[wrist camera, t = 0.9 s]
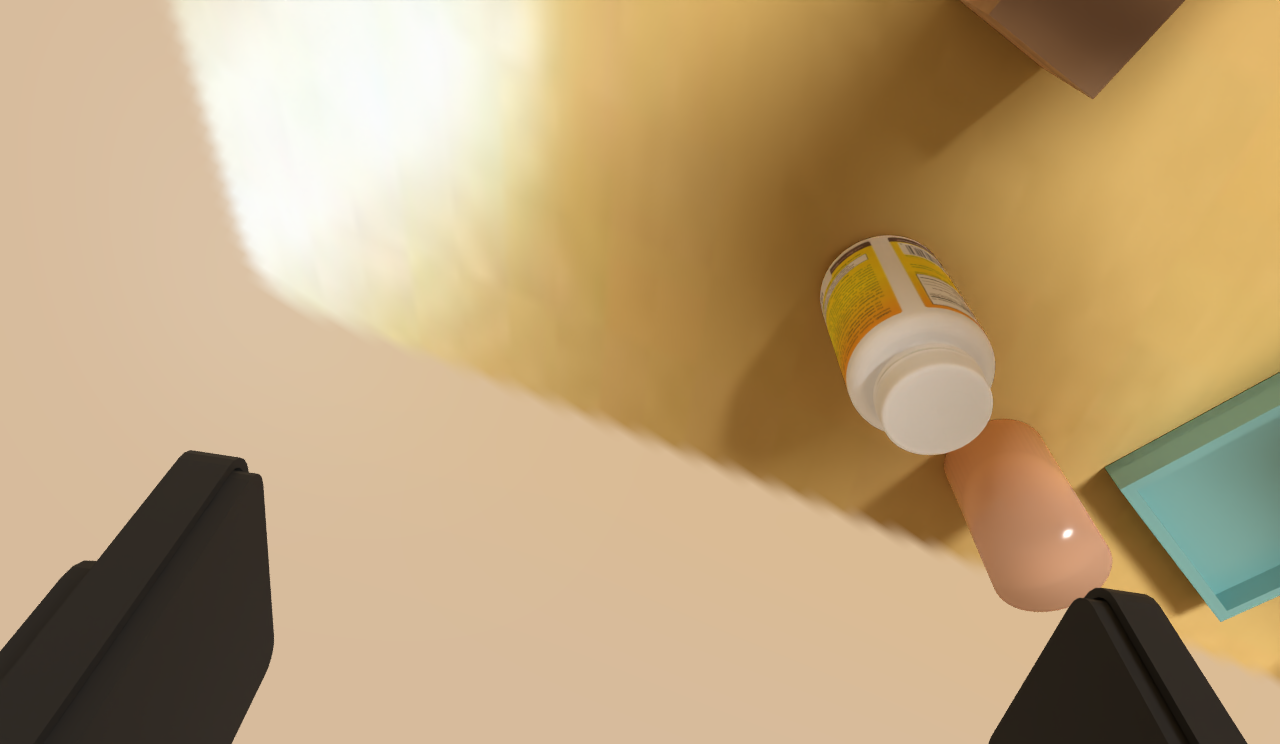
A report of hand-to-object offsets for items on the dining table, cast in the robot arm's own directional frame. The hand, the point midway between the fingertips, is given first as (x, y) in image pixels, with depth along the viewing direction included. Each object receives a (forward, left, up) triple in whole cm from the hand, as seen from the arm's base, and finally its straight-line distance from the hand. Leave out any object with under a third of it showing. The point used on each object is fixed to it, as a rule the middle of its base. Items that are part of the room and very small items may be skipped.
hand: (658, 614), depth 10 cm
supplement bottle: (-1, +14, -30) cm, 33 cm away
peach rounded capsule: (0, +26, -29) cm, 39 cm away
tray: (-10, +36, -29) cm, 47 cm away
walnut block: (-13, +7, -29) cm, 33 cm away
